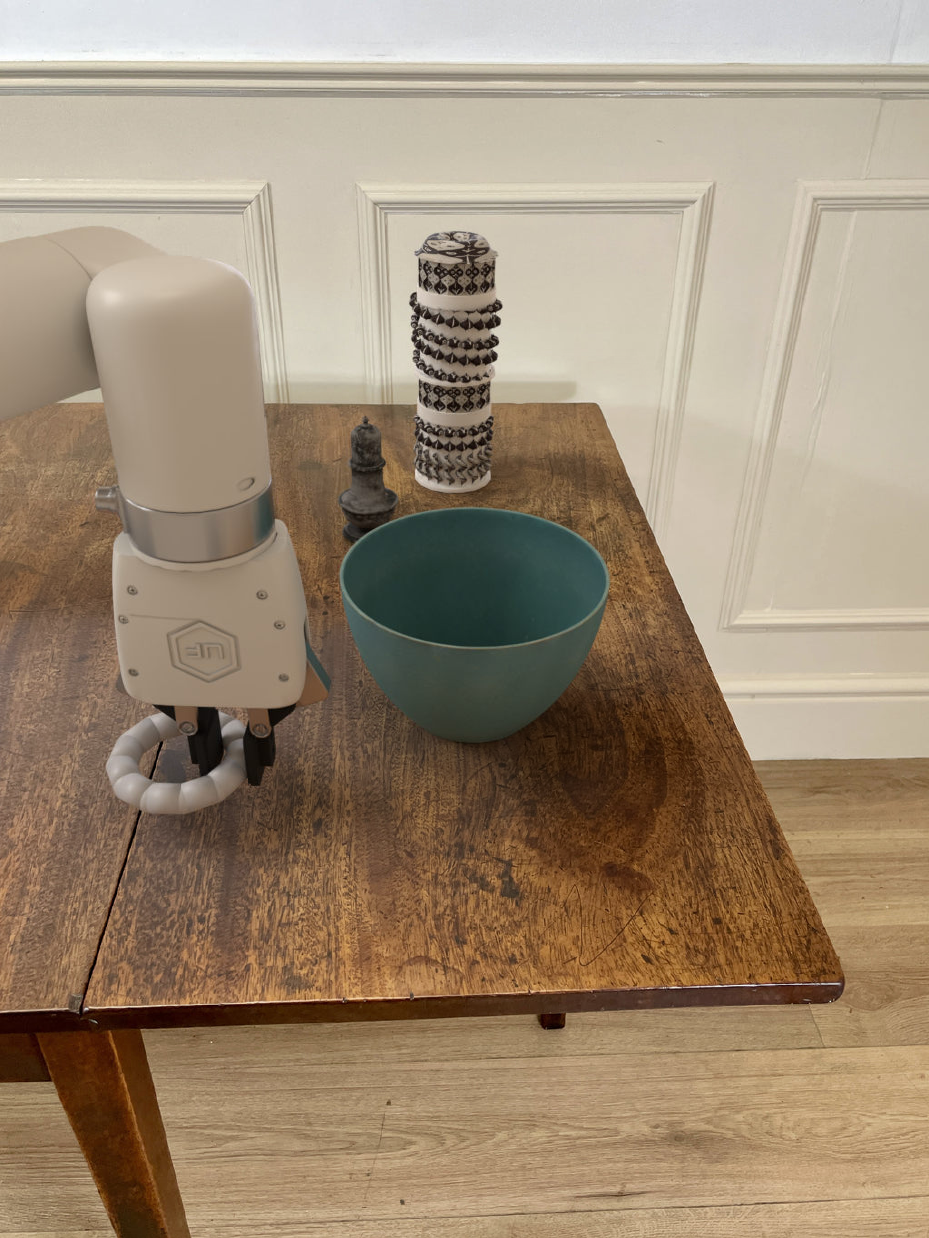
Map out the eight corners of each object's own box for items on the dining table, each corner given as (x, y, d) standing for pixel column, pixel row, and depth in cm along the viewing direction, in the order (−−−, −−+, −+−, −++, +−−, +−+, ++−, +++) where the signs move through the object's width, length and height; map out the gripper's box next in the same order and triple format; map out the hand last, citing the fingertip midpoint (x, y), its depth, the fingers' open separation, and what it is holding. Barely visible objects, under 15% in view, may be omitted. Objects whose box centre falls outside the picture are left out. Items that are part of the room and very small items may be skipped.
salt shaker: (327, 534, 92) (319, 418, 85) (364, 512, 96) (360, 399, 89) (374, 552, 89) (370, 433, 83) (411, 528, 94) (410, 413, 87)
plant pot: (526, 832, 60) (538, 681, 53) (297, 736, 67) (283, 592, 61) (627, 682, 74) (648, 546, 67) (428, 616, 81) (428, 486, 74)
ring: (90, 817, 56) (84, 796, 55) (134, 720, 63) (130, 699, 62) (239, 822, 56) (236, 800, 55) (266, 725, 63) (264, 704, 62)
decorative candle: (467, 502, 98) (474, 253, 84) (394, 480, 102) (389, 238, 88) (509, 471, 105) (523, 234, 91) (440, 452, 109) (442, 222, 95)
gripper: (17, 541, 46) (89, 809, 56) (346, 553, 46) (356, 818, 57) (72, 474, 52) (127, 726, 62) (361, 485, 52) (368, 734, 63)
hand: (236, 768), depth 59 cm, fingers closed on ring, 2 cm apart
